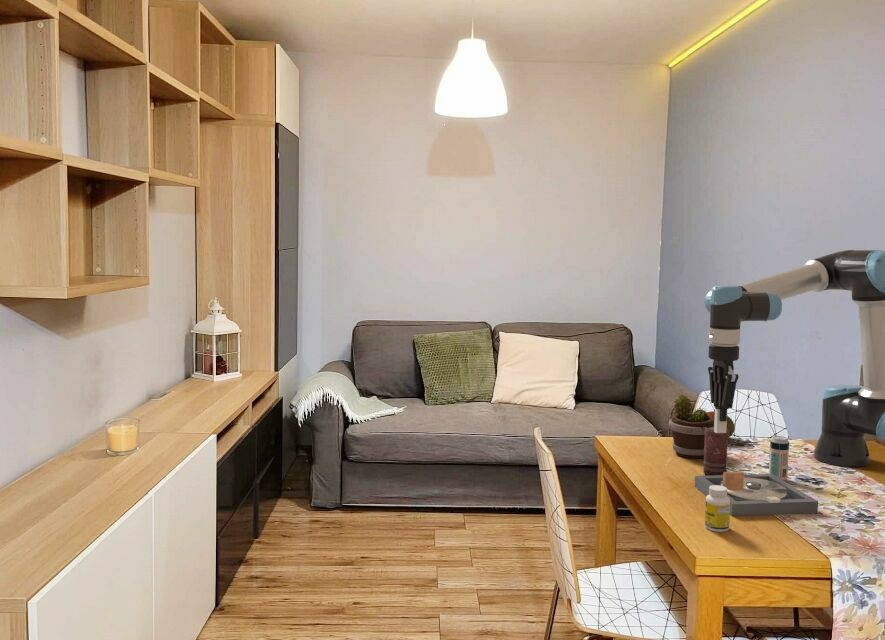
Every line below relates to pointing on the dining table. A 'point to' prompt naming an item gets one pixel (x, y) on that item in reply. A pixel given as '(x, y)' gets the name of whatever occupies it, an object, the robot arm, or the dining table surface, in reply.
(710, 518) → the supplement bottle
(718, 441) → the can
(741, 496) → the dial
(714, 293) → the robot arm
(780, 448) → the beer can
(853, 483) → the dining table surface
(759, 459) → the dining table surface
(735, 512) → the dial plate
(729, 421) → the fruit
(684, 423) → the flowerpot
